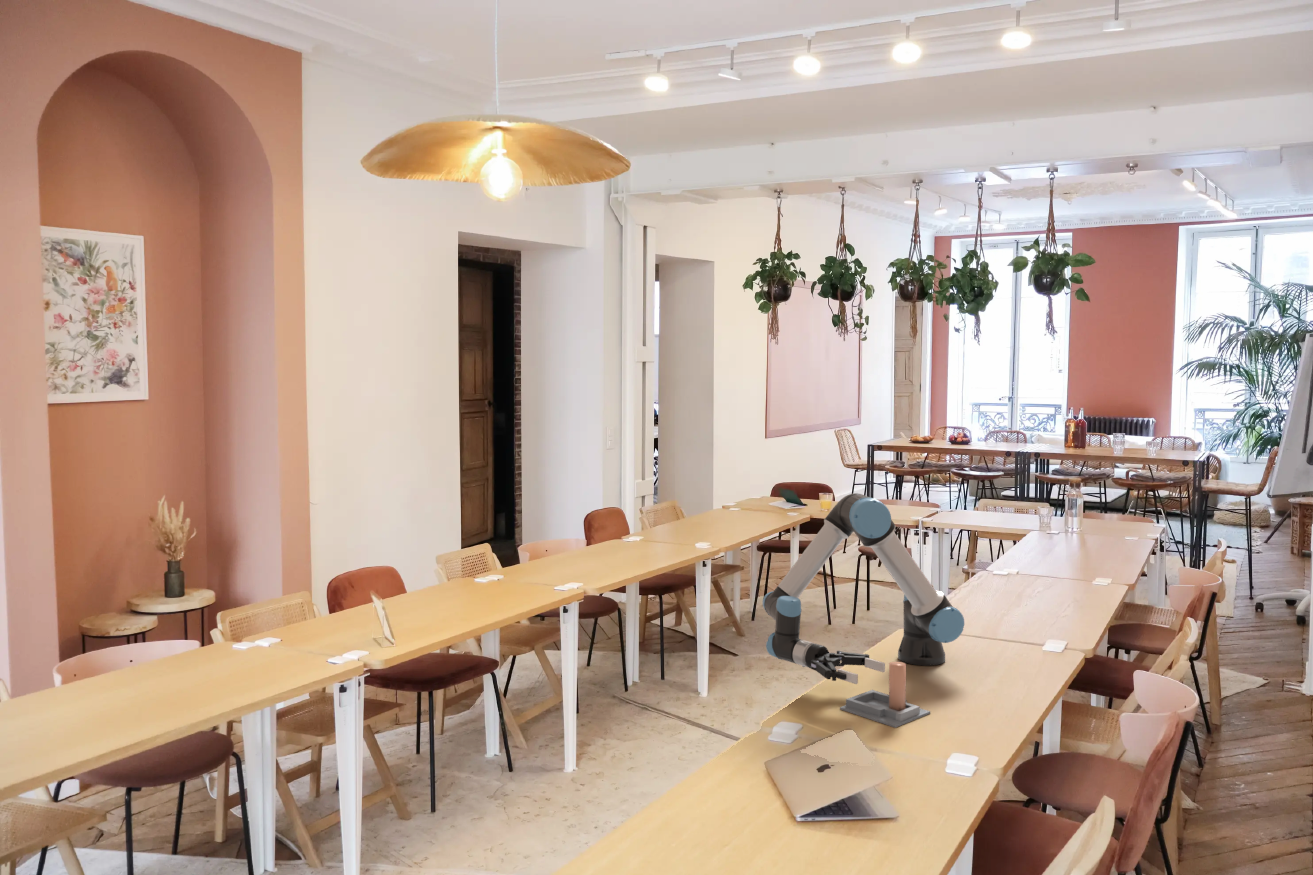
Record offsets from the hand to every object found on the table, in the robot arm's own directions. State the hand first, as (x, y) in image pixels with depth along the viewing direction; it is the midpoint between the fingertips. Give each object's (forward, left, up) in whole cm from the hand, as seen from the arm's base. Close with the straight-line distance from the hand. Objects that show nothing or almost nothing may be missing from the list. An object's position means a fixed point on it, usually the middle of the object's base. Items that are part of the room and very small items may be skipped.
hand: (871, 673), depth 280 cm
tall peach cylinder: (+1, +10, -9) cm, 13 cm away
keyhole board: (+1, +6, -9) cm, 11 cm away
